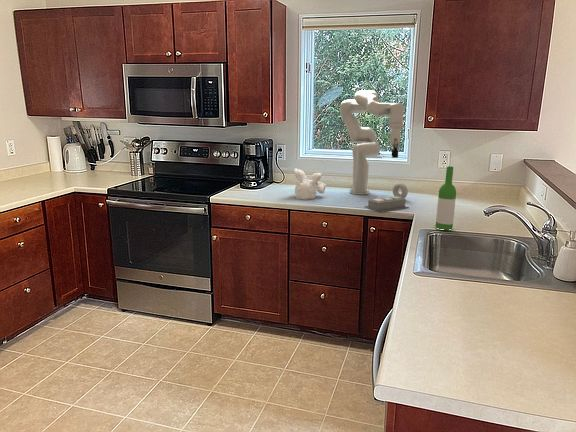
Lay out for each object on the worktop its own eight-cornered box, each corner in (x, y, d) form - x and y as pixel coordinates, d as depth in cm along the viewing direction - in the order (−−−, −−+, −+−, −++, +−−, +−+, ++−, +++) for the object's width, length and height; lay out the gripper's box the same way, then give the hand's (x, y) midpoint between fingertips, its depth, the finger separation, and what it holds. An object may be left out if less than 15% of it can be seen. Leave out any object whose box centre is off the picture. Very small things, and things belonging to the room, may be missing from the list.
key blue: (381, 203, 270) (381, 198, 269) (386, 202, 272) (387, 197, 272) (386, 205, 266) (387, 199, 266) (392, 204, 269) (393, 198, 268)
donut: (408, 200, 287) (409, 184, 285) (404, 201, 285) (406, 184, 283) (394, 197, 295) (395, 181, 292) (390, 198, 292) (392, 182, 290)
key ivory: (372, 204, 267) (372, 199, 266) (378, 203, 269) (378, 198, 268) (377, 206, 263) (378, 201, 262) (384, 205, 265) (384, 200, 265)
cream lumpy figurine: (287, 185, 281) (296, 163, 293) (290, 209, 295) (298, 186, 308) (319, 189, 276) (326, 166, 289) (320, 213, 291) (327, 190, 303)
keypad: (364, 207, 270) (364, 199, 269) (391, 202, 281) (391, 195, 280) (381, 212, 259) (382, 204, 258) (408, 208, 270) (409, 200, 268)
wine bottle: (433, 226, 234) (439, 165, 227) (450, 227, 234) (456, 165, 226) (436, 231, 227) (443, 167, 219) (453, 232, 226) (460, 168, 218)
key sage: (389, 202, 273) (389, 196, 273) (395, 201, 276) (395, 196, 275) (395, 203, 270) (395, 198, 269) (401, 202, 272) (401, 197, 271)
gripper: (388, 125, 278) (387, 155, 282) (389, 126, 261) (388, 158, 265) (402, 125, 277) (400, 155, 280) (403, 126, 260) (402, 158, 264)
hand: (394, 156), depth 273 cm, fingers open, 9 cm apart
